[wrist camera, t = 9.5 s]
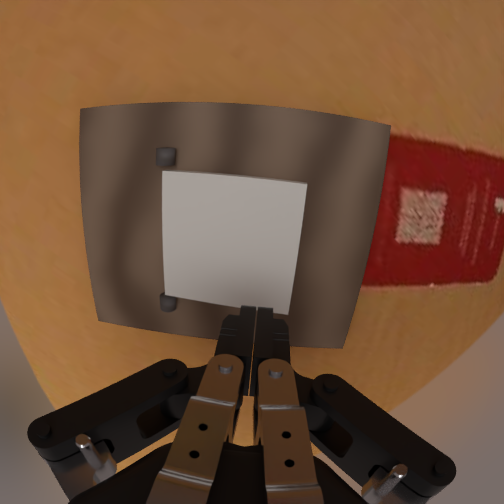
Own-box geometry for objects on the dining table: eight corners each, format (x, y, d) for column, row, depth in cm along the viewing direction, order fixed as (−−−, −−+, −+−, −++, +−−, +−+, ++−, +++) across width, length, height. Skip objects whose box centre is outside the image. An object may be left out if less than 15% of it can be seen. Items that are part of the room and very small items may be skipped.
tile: (162, 171, 21) (168, 169, 21) (165, 294, 24) (169, 288, 25) (307, 184, 20) (306, 182, 20) (288, 314, 23) (288, 307, 24)
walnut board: (383, 125, 21) (398, 125, 18) (339, 338, 29) (345, 358, 26) (89, 108, 21) (71, 108, 19) (104, 312, 29) (92, 328, 26)
